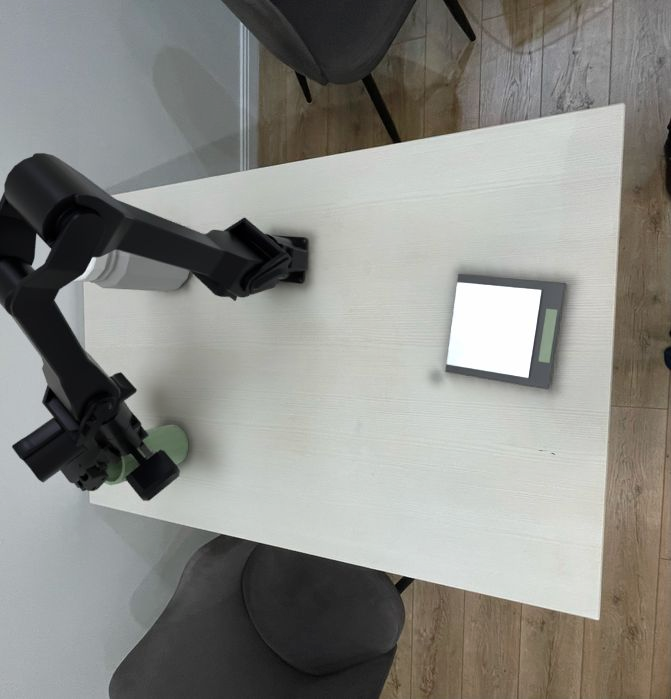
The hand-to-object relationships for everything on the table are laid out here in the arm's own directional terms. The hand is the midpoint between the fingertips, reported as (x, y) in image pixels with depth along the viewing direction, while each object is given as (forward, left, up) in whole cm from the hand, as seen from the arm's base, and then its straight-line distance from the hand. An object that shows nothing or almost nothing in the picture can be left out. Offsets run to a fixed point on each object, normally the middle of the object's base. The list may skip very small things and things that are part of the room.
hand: (138, 458), depth 85 cm
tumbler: (+1, +1, -7) cm, 7 cm away
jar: (-2, +31, -7) cm, 32 cm away
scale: (+51, +27, -7) cm, 58 cm away
